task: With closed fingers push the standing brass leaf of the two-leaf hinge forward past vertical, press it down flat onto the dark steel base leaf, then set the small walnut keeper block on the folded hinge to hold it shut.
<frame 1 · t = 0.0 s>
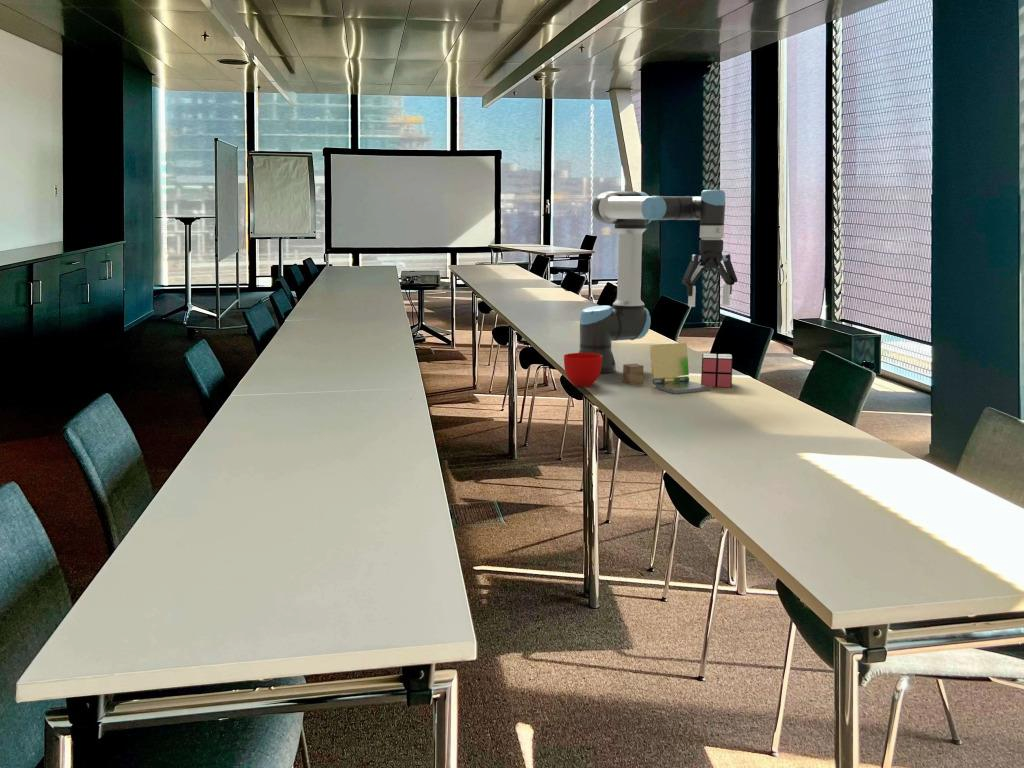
hand: (708, 305, 310), 28 cm above the table, fingers open, 13 cm apart
keeper block: (632, 382, 330), on the table
ceramic cup: (584, 384, 327), on the table
puzzle cube: (716, 385, 326), on the table
hinge base: (670, 385, 324), on the table
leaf: (669, 363, 323), point 7 cm above the table, hinge at 100.0°
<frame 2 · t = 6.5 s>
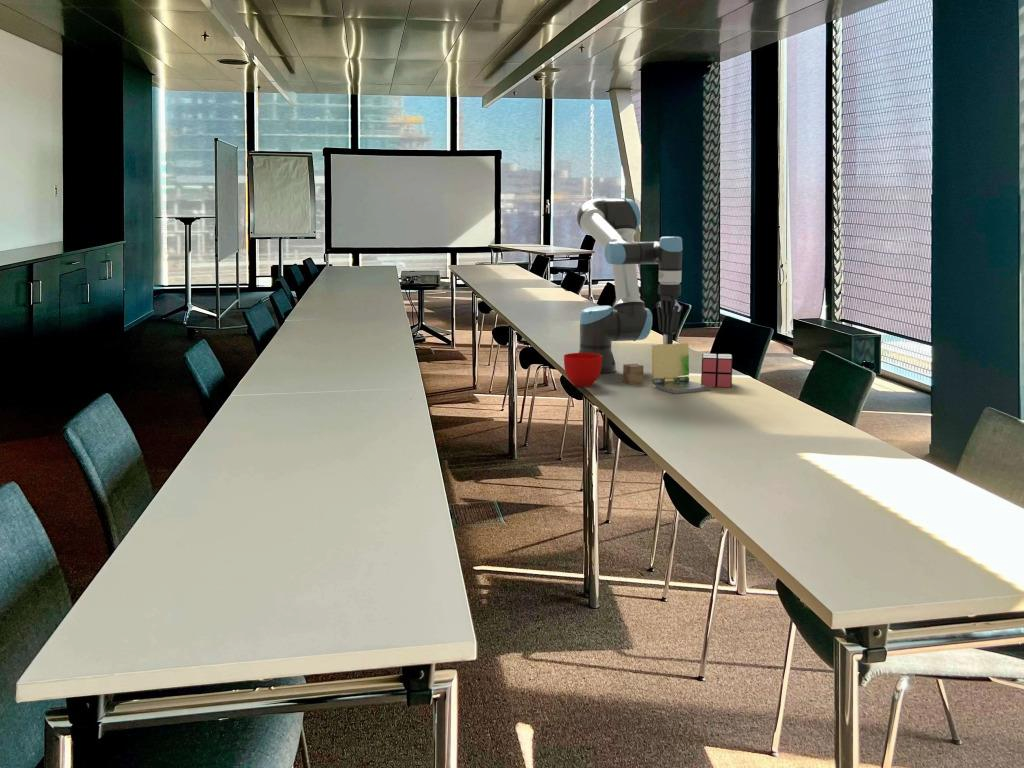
hand: (667, 353, 324), 11 cm above the table, fingers closed
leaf: (670, 363, 323), point 7 cm above the table, hinge at 95.2°, touching gripper
everything else where it was.
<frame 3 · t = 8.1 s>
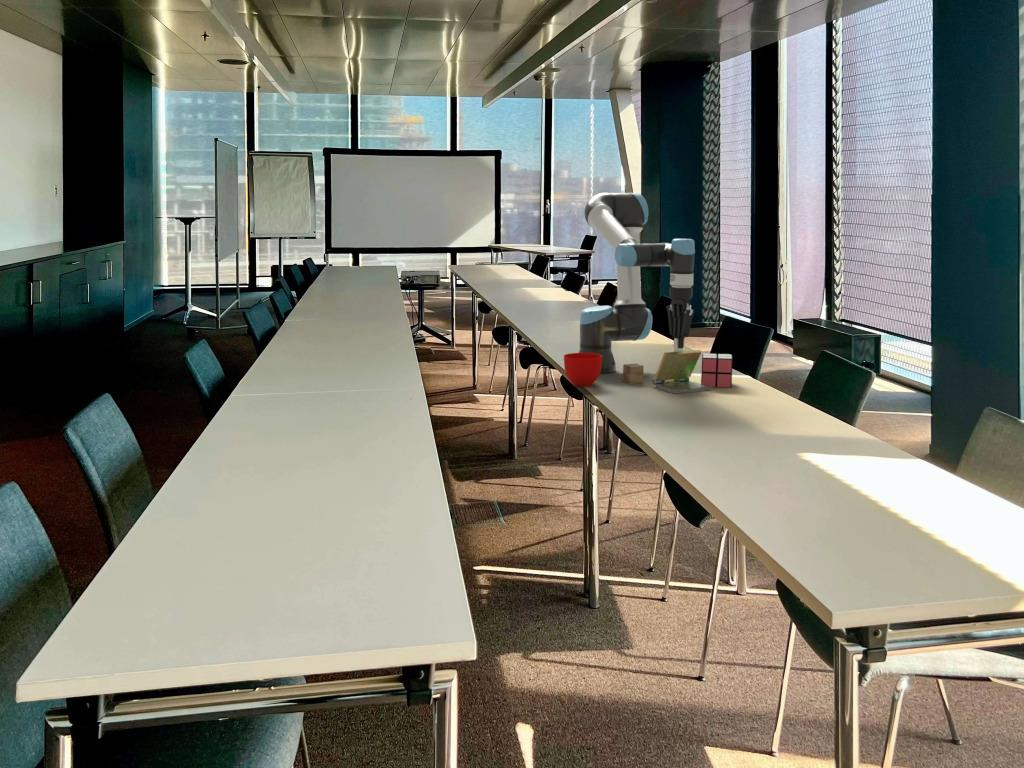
hand: (678, 357, 319), 10 cm above the table, fingers closed
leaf: (676, 367, 320), point 7 cm above the table, hinge at 58.1°, touching gripper
everything else where it was.
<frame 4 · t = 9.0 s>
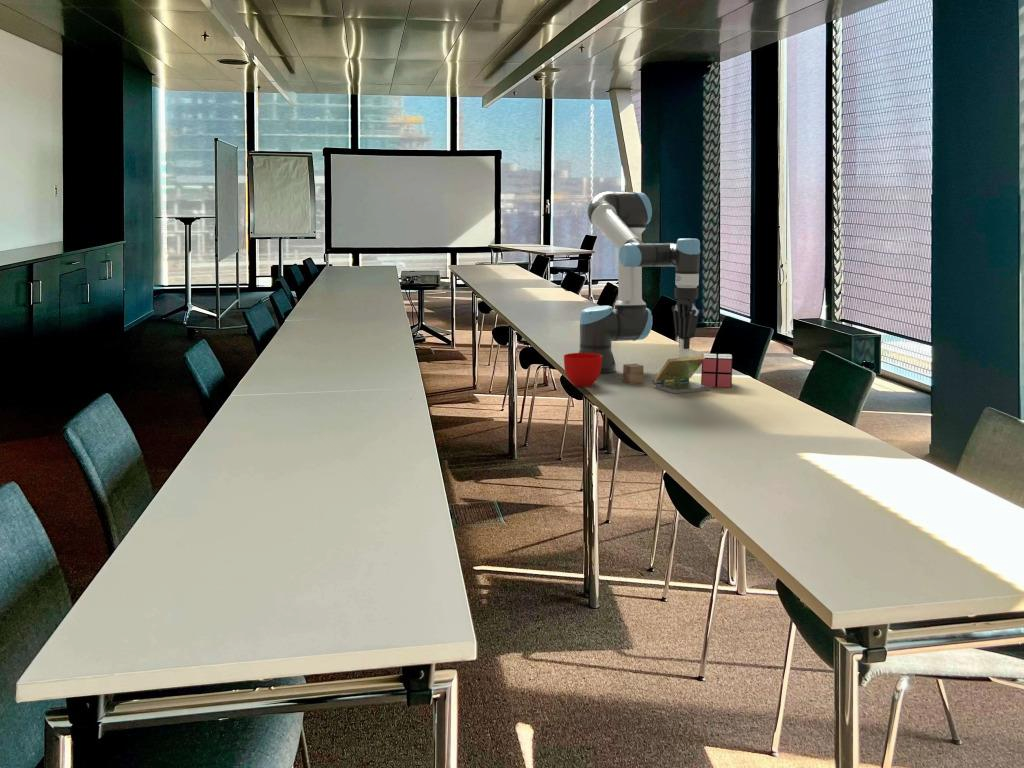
hand: (683, 358, 316), 10 cm above the table, fingers closed
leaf: (678, 370, 319), point 6 cm above the table, hinge at 44.5°, touching gripper
everything else where it was.
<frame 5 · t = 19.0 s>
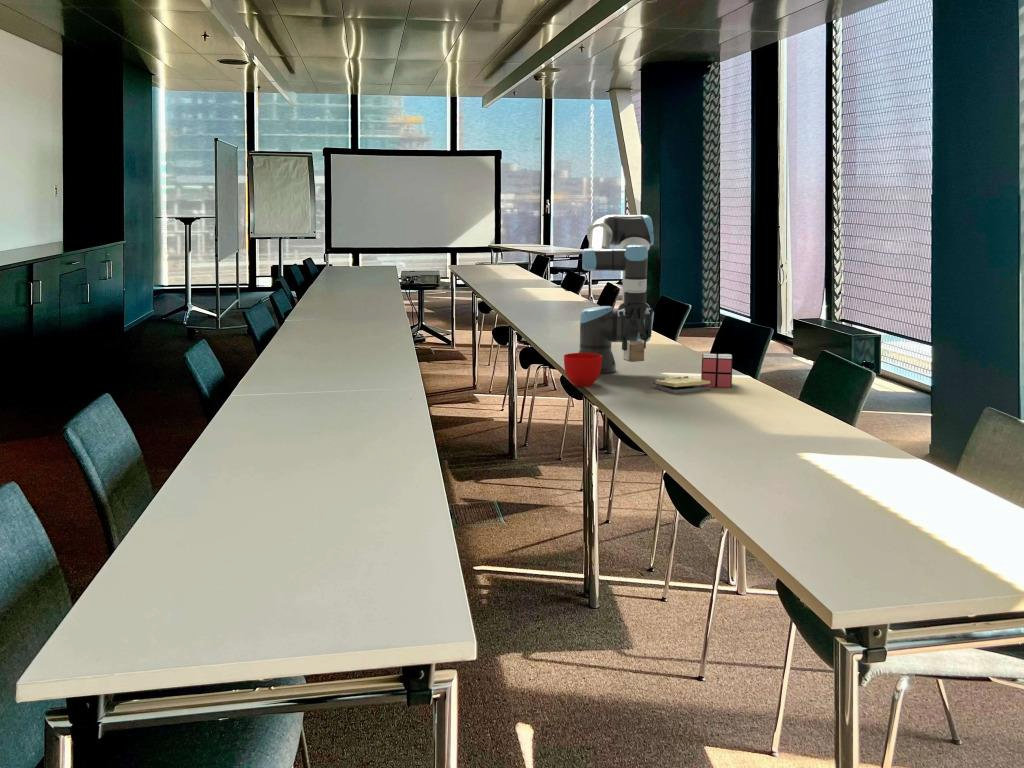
hand: (633, 358, 330), 8 cm above the table, fingers closed on keeper block, 5 cm apart
keeper block: (633, 360, 329), point 8 cm above the table, touching gripper
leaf: (680, 381, 318), point 2 cm above the table, hinge at 4.4°
everything else where it was.
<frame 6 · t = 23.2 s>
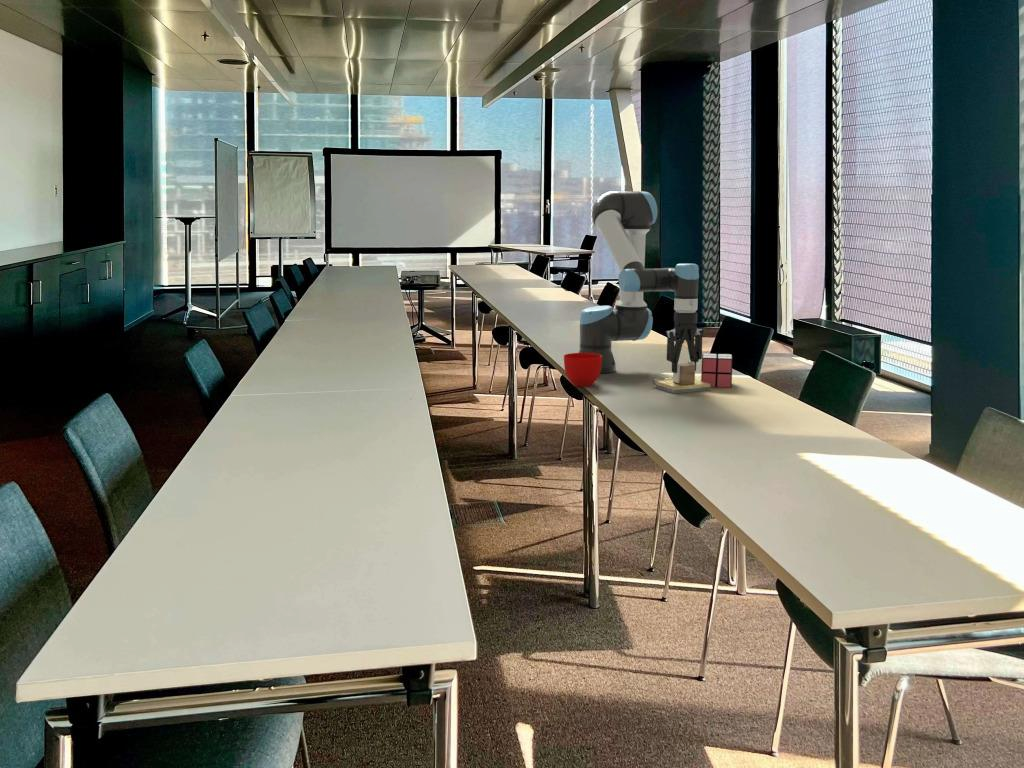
hand: (683, 381, 317), 3 cm above the table, fingers closed on keeper block, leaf, 5 cm apart
keeper block: (683, 382, 317), point 2 cm above the table, touching gripper, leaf
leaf: (680, 383, 318), point 2 cm above the table, hinge at -0.3°, touching gripper, hinge base, keeper block
everything else where it was.
when the fingers open (3 cm above the table, at t = 23.2 s): keeper block stays where it is, resting on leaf.
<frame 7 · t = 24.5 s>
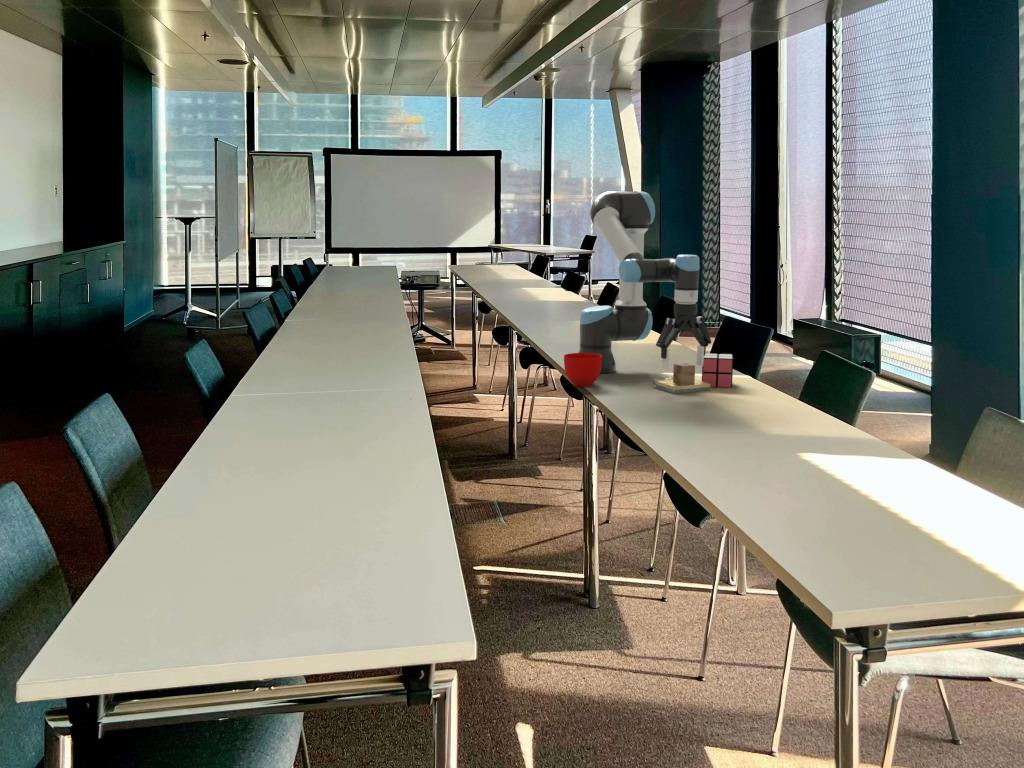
hand: (682, 366, 317), 7 cm above the table, fingers open, 13 cm apart
keeper block: (683, 382, 317), point 2 cm above the table, touching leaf
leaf: (680, 383, 318), point 2 cm above the table, hinge at -0.3°, touching hinge base, keeper block
everything else where it was.
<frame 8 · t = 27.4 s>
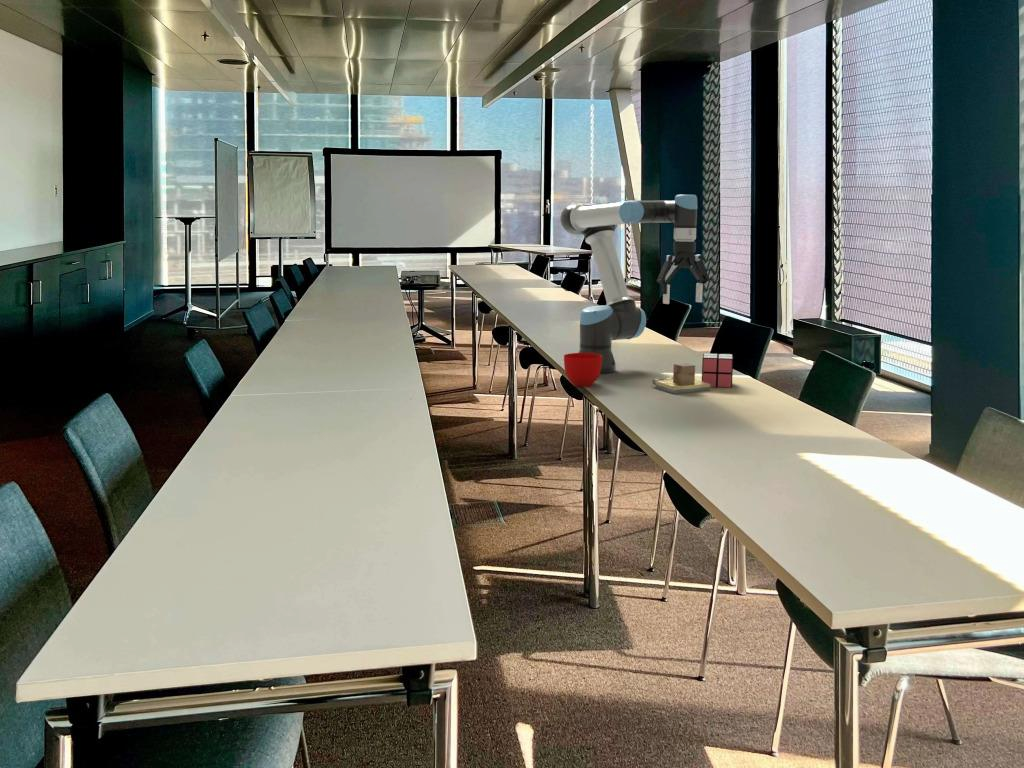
hand: (682, 303, 331), 27 cm above the table, fingers open, 13 cm apart
nothing on the table moved.
at the end: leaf at +0° (first picture: +100°); keeper block inside the target area (0.1 cm from its centre), point 2.3 cm above the table; the gripper is holding nothing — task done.
